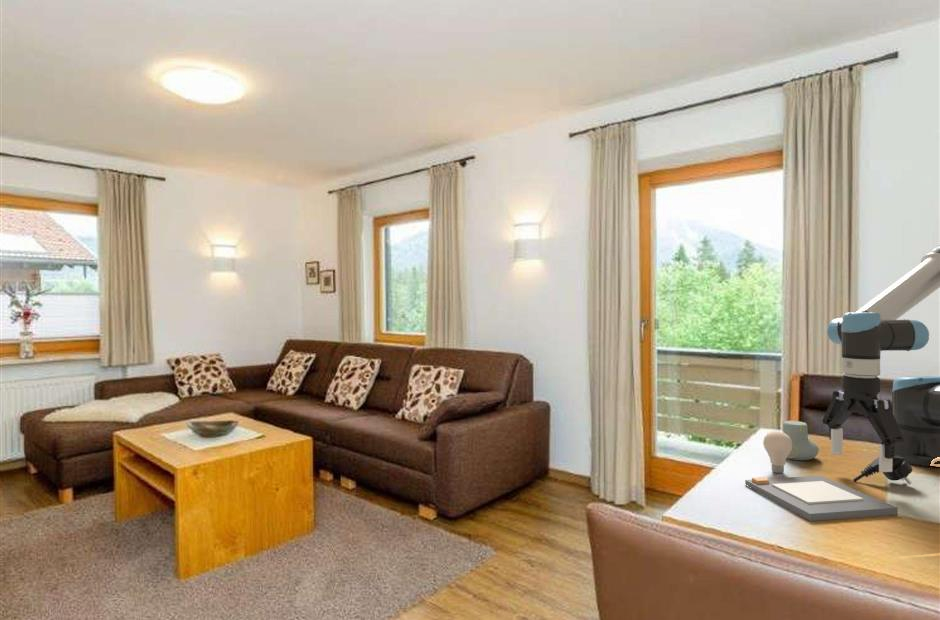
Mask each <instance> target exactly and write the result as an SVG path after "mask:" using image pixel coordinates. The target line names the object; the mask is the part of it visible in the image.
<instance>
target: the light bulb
mask: <svg viewBox="0 0 940 620" xmlns="http://www.w3.org/2000/svg"><path fill="white" fill-rule="evenodd" d="M762 445H763V448H764V450H765V451H766V453H767V455H768V457H769V461H770V463H771V471H772V472H773V473H775V474H783V473H784V471H785V465H786V461H787V459H788V458H787V457H788V455H789V454H790V452H791V450H792V441H791V439H790V437H789V436H788V435H787V434H785V433H783V431H780V430H774V431H773V430H772V431H769V432H767V433H766V434H765V436H764V437H763V443H762Z"/></svg>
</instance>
